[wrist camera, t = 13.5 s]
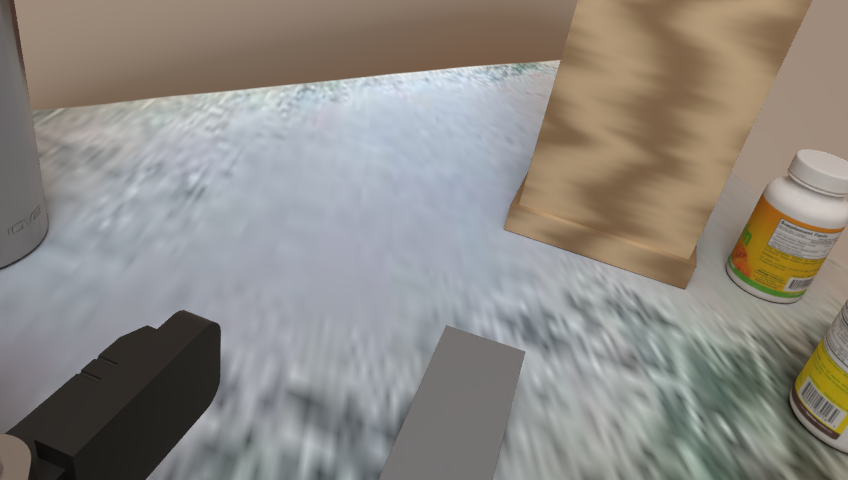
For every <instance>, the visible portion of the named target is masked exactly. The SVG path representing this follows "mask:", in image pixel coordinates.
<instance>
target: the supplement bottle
mask: <svg viewBox="0 0 848 480" xmlns="http://www.w3.org/2000/svg"><path fill="white" fill-rule="evenodd" d="M788 174H789V176H782V177H778V178H775V179H773V180H772V181H771V182H769V184H768V185H767V186H766V188H765V190H764V191H763V193H762V195H761V197H760V199H759V201H758V203H757V205H756V207H755V209H754V211H753V213H752V215H751V217H750V219H749V220H748V222H747V224H746V226H745V228H744V230H743V232H742V234H741V236H740V238H739V240H738V242H737V244H736V246H735V247H734V249H733V251H732V253H731V255H730V257H729V259H728V261H727V265H726V268H727V272H728V274H729V276H730V277H731V279H732V280H733V281H734V282H735V283H736V284H737V285H738V286H740V287H741V288H742V289H744V290H745V291H747V292H748V293H750V294H752V295H754V296H757V297H759V298H762V299H764V300H768V301H771V302H777V303H792V302H796V301H797V300H799V299H800V298H801V297H802V296H803V294H804V293H805V291H806V290H807V288H808V287H809V285H810V284H811V282H812V280H813V279H814V277H815V275H816V274H817V272H818V270H819V269H820V267H821V265H822V264H823V262H824V261H825V259H826V257H827V256H828V254H829V252H830V251H831V249H832V247H833V246H834V244H835V242H836V241H837V239H838V238H839V236H840V234H841V233H842V231H843V230H844V228H845V226H846V224H847V222H848V202H847V201H846V200H845V199H844V197H846V196H848V162H847V161H845V160H843V159H841V158H839V157H836V156H834V155H832V154H829V153H825V152H821V151H817V150H808V149H804V150H800V151H798V152H797V153H796V155H795V157H794V159H793V160H792V163H791V165H790V167H789V169H788Z"/></svg>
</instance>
